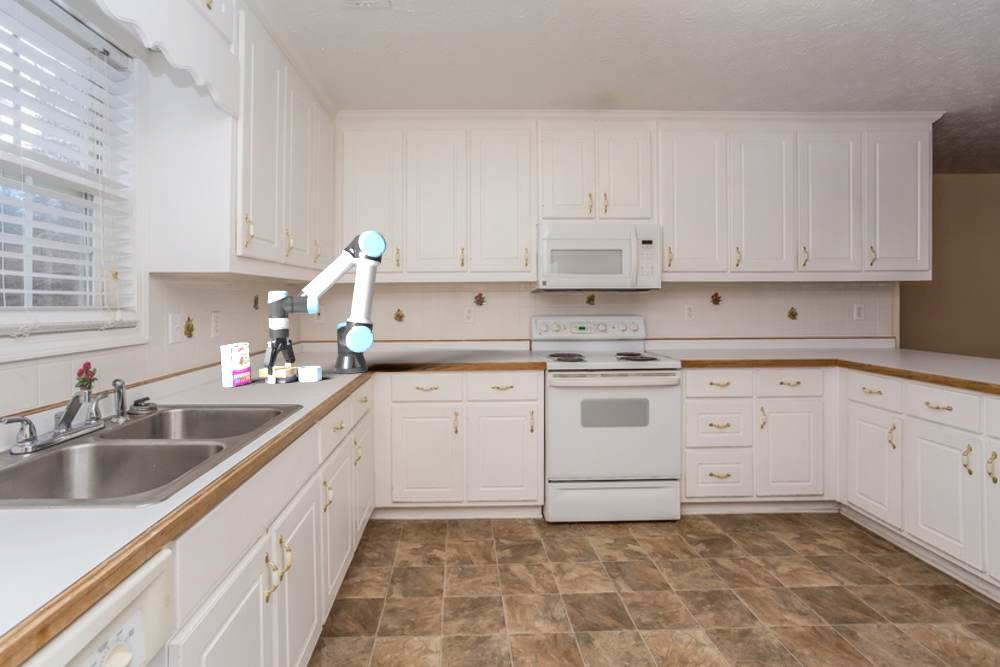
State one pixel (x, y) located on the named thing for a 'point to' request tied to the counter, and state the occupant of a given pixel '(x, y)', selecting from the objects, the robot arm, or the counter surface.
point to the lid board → (280, 371)
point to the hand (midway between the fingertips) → (280, 380)
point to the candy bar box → (236, 364)
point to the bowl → (310, 373)
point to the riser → (282, 379)
